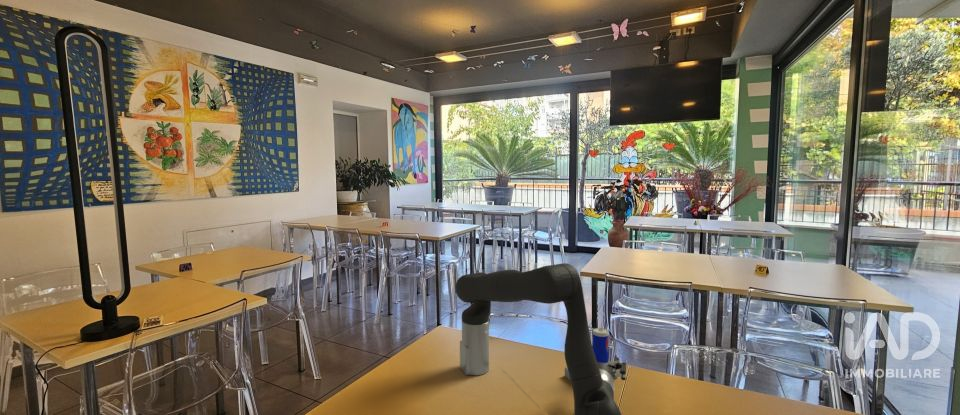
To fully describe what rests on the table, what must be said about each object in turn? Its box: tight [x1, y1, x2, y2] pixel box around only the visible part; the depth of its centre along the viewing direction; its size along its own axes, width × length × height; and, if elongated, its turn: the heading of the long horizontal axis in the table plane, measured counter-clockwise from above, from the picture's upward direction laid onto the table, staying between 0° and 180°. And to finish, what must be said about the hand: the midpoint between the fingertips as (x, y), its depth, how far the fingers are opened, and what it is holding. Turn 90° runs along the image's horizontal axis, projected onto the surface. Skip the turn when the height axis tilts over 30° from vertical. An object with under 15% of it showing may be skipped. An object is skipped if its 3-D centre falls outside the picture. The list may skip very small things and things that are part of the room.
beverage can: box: [591, 327, 610, 363], centre depth 136 cm, size 5×5×15 cm
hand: (600, 356), depth 125 cm, fingers open, 8 cm apart
